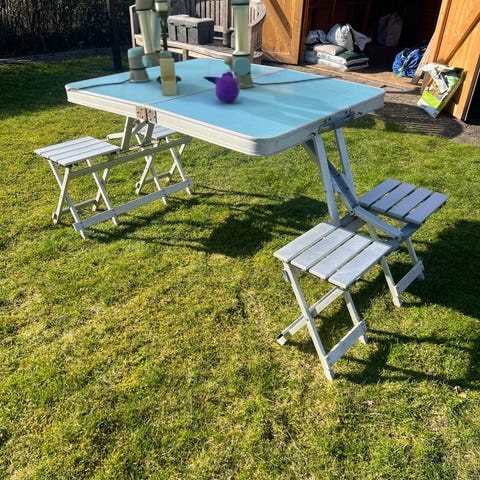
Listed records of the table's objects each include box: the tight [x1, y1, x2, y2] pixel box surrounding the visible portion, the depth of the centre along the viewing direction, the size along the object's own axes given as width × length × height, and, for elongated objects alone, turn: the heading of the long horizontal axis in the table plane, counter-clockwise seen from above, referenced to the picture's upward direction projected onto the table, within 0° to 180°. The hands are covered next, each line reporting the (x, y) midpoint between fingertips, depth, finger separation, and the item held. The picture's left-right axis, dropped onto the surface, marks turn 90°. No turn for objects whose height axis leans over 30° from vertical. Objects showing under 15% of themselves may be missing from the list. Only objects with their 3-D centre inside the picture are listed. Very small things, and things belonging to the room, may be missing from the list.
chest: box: [161, 77, 178, 97], centre depth 300 cm, size 13×10×9 cm
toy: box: [203, 71, 241, 104], centre depth 277 cm, size 16×18×27 cm
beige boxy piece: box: [159, 55, 176, 78], centre depth 299 cm, size 14×10×8 cm
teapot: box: [223, 53, 234, 72], centre depth 368 cm, size 21×12×15 cm, turn 120°
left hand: (168, 82), depth 302 cm, fingers closed on chest, 9 cm apart
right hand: (165, 50), depth 292 cm, fingers open, 5 cm apart
